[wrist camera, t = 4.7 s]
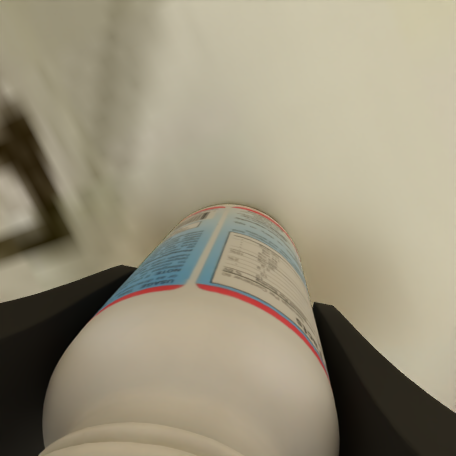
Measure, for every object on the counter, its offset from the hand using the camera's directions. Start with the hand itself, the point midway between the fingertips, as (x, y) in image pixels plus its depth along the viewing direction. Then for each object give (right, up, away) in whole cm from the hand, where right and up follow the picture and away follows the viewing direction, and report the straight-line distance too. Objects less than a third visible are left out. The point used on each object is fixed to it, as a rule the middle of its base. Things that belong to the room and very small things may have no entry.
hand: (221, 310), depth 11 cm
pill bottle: (0, +1, +3) cm, 4 cm away
